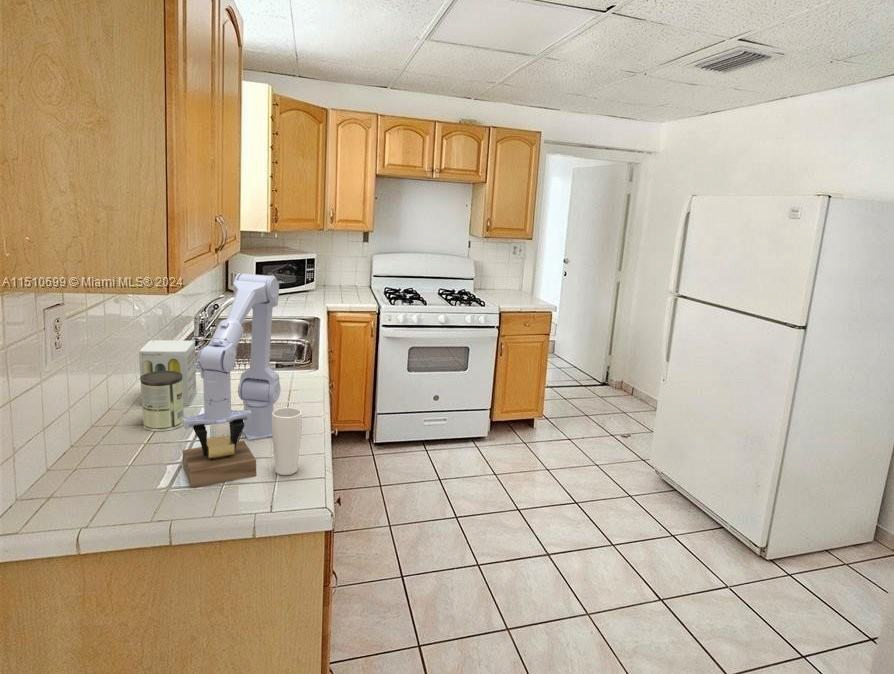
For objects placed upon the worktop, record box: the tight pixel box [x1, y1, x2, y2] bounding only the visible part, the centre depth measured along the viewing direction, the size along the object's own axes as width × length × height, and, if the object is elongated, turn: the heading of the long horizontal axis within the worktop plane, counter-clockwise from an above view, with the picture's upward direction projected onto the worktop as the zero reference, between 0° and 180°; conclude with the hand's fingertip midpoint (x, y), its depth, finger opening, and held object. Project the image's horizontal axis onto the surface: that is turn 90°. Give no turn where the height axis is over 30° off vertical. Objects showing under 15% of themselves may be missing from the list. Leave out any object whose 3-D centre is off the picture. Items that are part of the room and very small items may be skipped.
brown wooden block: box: [181, 440, 257, 489], centre depth 133 cm, size 12×14×4 cm
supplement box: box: [138, 339, 197, 407], centre depth 173 cm, size 13×13×18 cm
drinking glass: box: [271, 406, 303, 476], centre depth 134 cm, size 7×7×15 cm
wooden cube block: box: [207, 434, 234, 460], centre depth 132 cm, size 6×6×6 cm
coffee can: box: [139, 371, 185, 432], centre depth 155 cm, size 10×10×14 cm
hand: (218, 452), depth 132 cm, fingers closed on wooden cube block, 5 cm apart
